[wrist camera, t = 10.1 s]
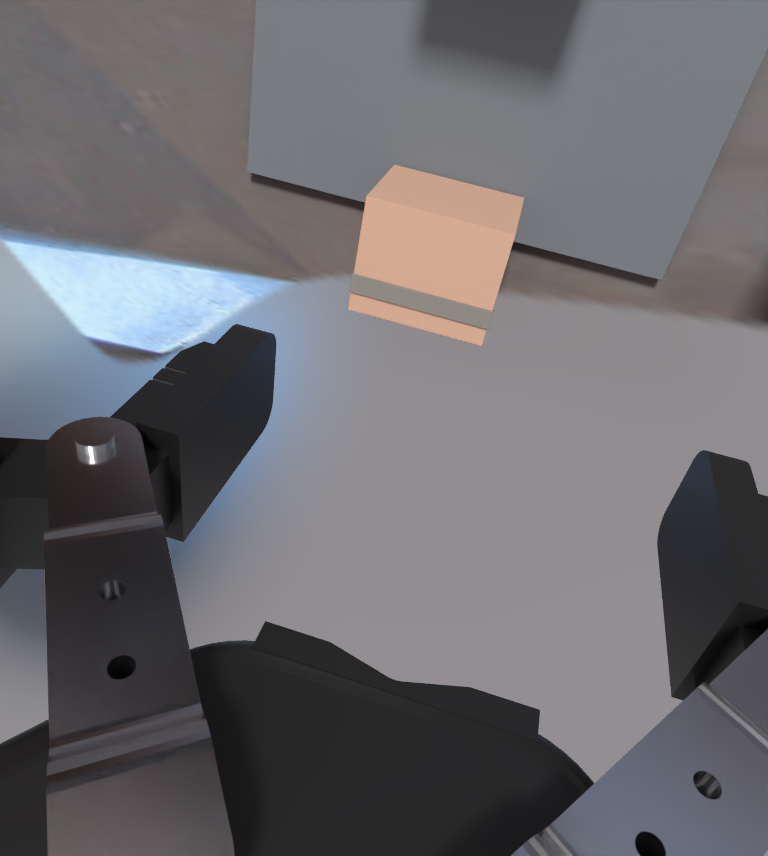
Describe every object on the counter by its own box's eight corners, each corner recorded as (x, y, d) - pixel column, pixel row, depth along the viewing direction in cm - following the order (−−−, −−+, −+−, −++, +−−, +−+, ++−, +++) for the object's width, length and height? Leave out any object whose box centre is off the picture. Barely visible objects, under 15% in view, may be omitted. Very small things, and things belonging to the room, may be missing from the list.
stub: (525, 198, 30) (516, 236, 26) (494, 299, 33) (482, 347, 29) (393, 164, 31) (364, 196, 27) (375, 266, 34) (346, 310, 30)
